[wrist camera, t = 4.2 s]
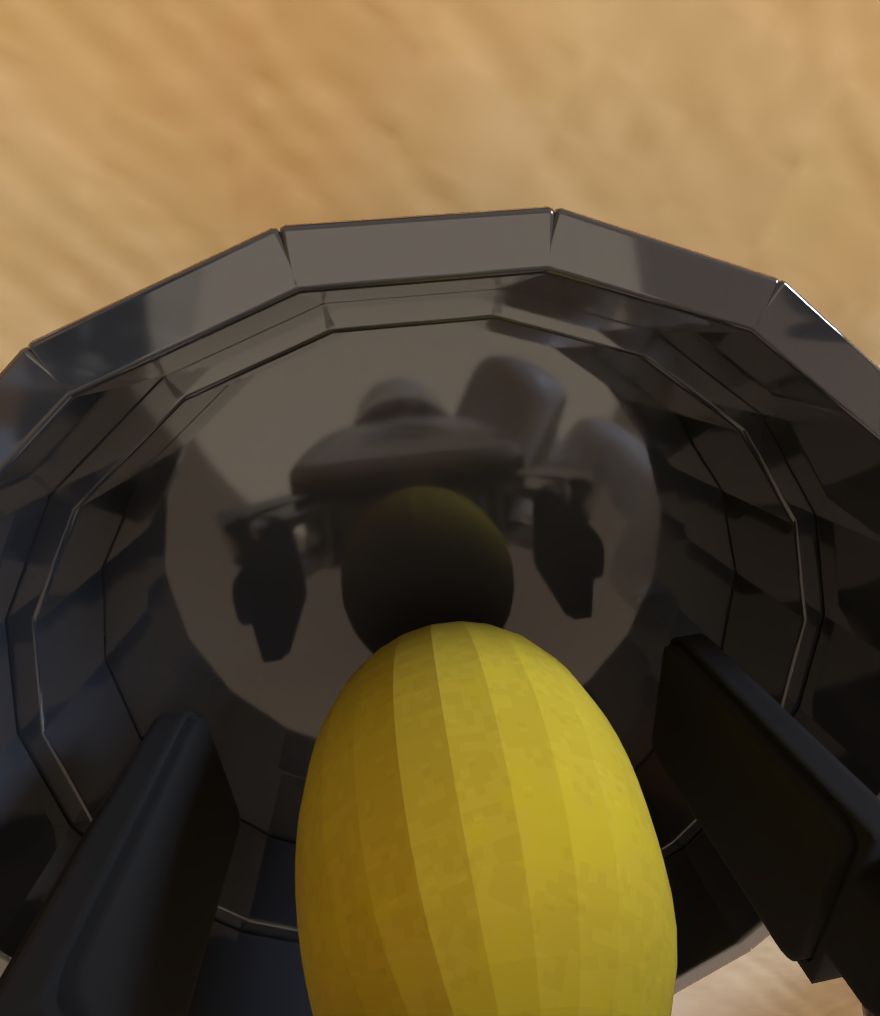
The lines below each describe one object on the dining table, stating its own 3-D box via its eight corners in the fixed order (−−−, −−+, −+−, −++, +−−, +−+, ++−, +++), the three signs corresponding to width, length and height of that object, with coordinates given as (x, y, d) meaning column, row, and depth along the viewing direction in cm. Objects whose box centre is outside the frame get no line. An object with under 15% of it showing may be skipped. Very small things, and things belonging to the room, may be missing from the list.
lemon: (291, 700, 11) (123, 1386, 4) (392, 515, 10) (419, 1068, 3) (479, 758, 13) (609, 1337, 5) (590, 606, 11) (973, 1118, 4)
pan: (826, 235, 9) (1191, 159, 5) (708, 811, 16) (826, 986, 11) (-95, 308, 8) (-627, 286, 4) (190, 905, 14) (111, 1140, 10)
